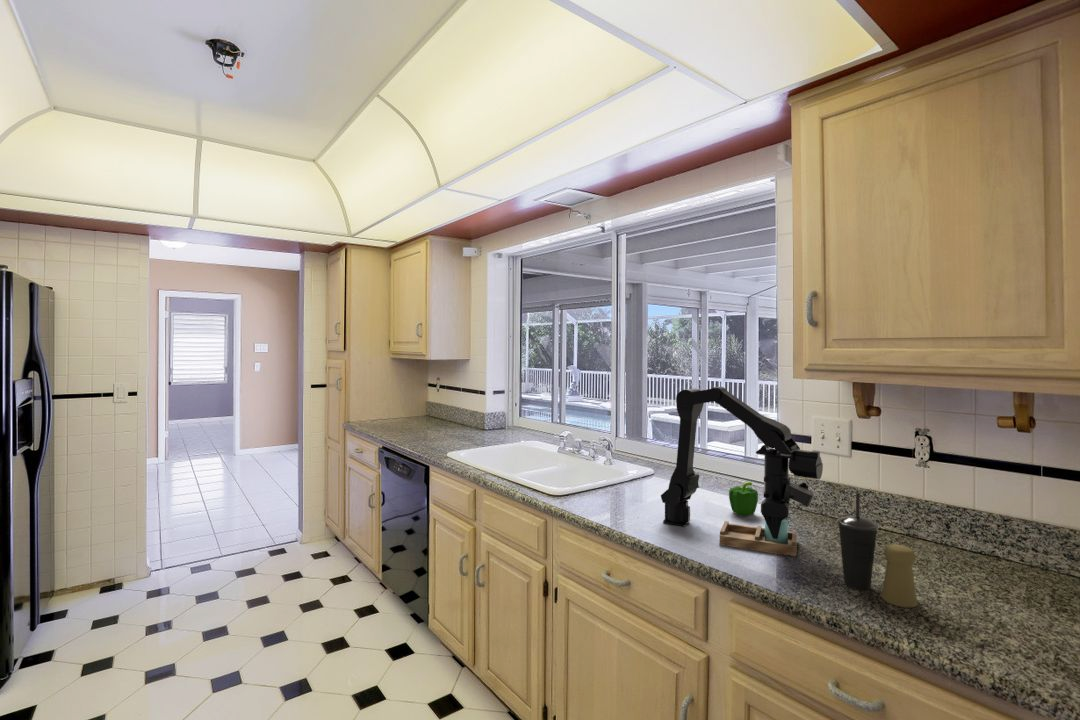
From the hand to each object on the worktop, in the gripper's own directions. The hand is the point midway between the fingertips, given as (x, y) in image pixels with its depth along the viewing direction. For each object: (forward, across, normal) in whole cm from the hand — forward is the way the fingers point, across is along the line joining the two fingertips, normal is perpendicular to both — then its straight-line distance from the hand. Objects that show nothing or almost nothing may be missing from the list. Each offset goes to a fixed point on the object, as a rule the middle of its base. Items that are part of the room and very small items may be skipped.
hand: (776, 532), depth 134 cm
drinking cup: (+4, -16, -17) cm, 24 cm away
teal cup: (+3, 0, 0) cm, 3 cm away
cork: (+4, -20, -24) cm, 32 cm away
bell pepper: (+4, +24, +10) cm, 26 cm away
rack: (+3, 0, +4) cm, 5 cm away
